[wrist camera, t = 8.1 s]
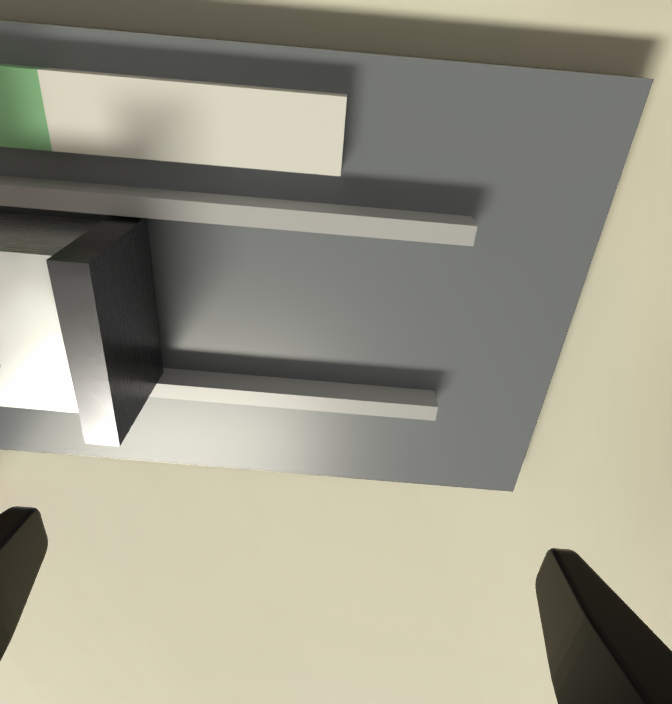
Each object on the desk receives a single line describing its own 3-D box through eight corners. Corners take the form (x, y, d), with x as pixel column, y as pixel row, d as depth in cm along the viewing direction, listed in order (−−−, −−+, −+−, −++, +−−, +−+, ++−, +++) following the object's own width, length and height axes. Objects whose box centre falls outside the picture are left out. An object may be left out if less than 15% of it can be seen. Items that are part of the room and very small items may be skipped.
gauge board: (636, 76, 15) (750, 91, 10) (506, 474, 22) (542, 577, 18) (-228, -1, 15) (-472, -17, 10) (-62, 427, 22) (-162, 519, 18)
